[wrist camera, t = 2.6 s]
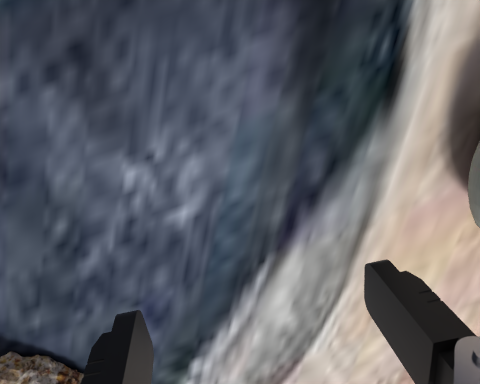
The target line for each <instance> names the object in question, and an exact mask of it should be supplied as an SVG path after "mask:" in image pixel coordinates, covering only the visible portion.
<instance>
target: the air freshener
mask: <svg viewBox="0 0 480 384" xmlns="http://www.w3.org/2000/svg"><path fill="white" fill-rule="evenodd" d="M468 197H469V204H470V209H471V212H472V215H473V218H474V220H475V223H476V225H477V226H478V227H479V228H480V141H479V143H478V146H477V148H476V151H475V154H474V156H473V159H472V163H471V167H470V172H469V181H468Z"/></svg>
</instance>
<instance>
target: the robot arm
mask: <svg viewBox="0 0 480 384" xmlns="http://www.w3.org/2000/svg"><path fill="white" fill-rule="evenodd" d="M364 298H365V303H366V307H367V310H368V312H369V314H370V316H371V317H372V319H373V320H374V322H375V323H376V325H377V326H378V328H379V329H380V331H381V332H382V334H383V335H384V337H385V338H386V340H387V341H388V343H389V345H390V346H391V348H392V349H393V351H394V352H395V354H396V355H397V357H398V358H399V360H400V361H401V363H402V364H403V366H404V367H405V369H406V370H407V372H408V373H409V375H410V377H411V378H412V380H413V381H414V383H415V384H480V337H478V336H476V335H475V334H474V333H473V332H472V331H471V330H470V329H469V328H468V327H467V326H466V325H465V324H464V323H463V322H462V321H461V320H460V319H459V318H458V317H457V316H456V314H455V313H454V312H453V311H452V310H451V309H450V308H449V307H448V306H447V305H446V304H445V303H444V302H443V301H441V300H440V298H439V297H438V296H437V295H436V294H435V293H434V292H432V290H431V289H430V288H429V287H428V286H427V285H426V284H425V283H424V281H423V280H422V279H420V278H418V277H417V276H415V275H413V274H411V273H409V272H408V271H403V272H399V271H398V269H397V268H396V267H395V266H394V265H393V264H392V263H391V262H390V261H389V260H382V261H377V262H372V263H368V264H366V265H365V283H364ZM153 361H154V353H153V345H152V341H151V338H150V335H149V332H148V330H147V327H146V324H145V321H144V318H143V315H142V313H141V311H140V310H136V311H132V312H127V313H122V314H118V315H116V317H115V320H114V324H113V328H112V331H111V332H108V333H103V334H102V335H101V336H100V338H99V339H98V340H97V342H96V343H95V344H94V346H93V347H92V349H91V352H90V355H89V359H88V362H87V363H88V364H87V365H86V368H85V371H84V374H83V375H84V377H83V378H82V380H81V383H80V384H151V378H152V370H153Z"/></svg>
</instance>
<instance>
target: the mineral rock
mask: <svg viewBox="0 0 480 384" xmlns="http://www.w3.org/2000/svg"><path fill="white" fill-rule="evenodd" d="M83 377H84V375H83V373H80V372H77V370H72V369H71V368H68V367H67V366H65V365H64V364H62V363H60V362H56V361H54V360H53V359H51V357H50V356H40V355H35V356H33V357H21V356H20V355H19V354H17V353H15V352H12V351H11V352H9V353H7V354H6V355H3V356H0V384H80V383H81V380H82V378H83Z"/></svg>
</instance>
